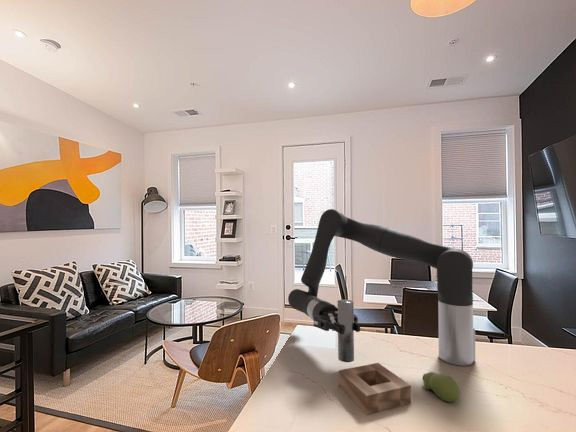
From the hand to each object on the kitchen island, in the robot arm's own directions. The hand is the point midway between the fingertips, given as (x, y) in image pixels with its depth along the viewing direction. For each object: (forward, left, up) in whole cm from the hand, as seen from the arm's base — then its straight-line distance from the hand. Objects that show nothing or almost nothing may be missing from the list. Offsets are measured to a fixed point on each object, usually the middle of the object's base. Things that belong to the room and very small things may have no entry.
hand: (351, 329), depth 84 cm
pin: (0, -3, -9) cm, 9 cm away
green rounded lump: (-15, +16, -13) cm, 25 cm away
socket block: (0, +10, -12) cm, 16 cm away
